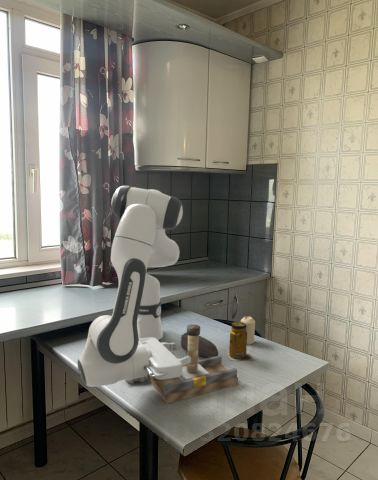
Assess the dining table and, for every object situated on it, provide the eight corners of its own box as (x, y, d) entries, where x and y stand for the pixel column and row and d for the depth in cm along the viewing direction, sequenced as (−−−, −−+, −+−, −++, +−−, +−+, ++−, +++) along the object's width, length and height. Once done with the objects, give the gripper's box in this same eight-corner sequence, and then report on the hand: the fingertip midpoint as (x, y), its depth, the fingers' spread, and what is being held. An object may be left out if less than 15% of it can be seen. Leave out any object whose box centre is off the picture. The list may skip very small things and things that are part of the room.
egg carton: (121, 368, 124) (121, 356, 123) (144, 366, 126) (144, 354, 125) (124, 384, 114) (124, 372, 113) (148, 382, 115) (149, 369, 115)
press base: (166, 403, 104) (166, 388, 104) (150, 382, 115) (150, 369, 114) (238, 384, 115) (238, 370, 115) (217, 366, 126) (218, 354, 125)
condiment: (226, 351, 137) (227, 320, 136) (249, 351, 138) (250, 320, 136) (230, 361, 130) (232, 328, 128) (254, 360, 131) (256, 328, 129)
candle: (237, 342, 146) (238, 317, 144) (243, 337, 150) (244, 313, 149) (250, 346, 143) (251, 320, 141) (256, 341, 147) (257, 316, 146)
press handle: (185, 385, 109) (186, 333, 107) (175, 374, 115) (176, 325, 113) (209, 379, 113) (211, 329, 111) (198, 369, 119) (199, 321, 117)
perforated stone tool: (221, 359, 131) (222, 340, 130) (213, 364, 127) (214, 345, 126) (188, 347, 140) (188, 329, 139) (179, 351, 136) (179, 333, 135)
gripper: (152, 366, 95) (199, 356, 102) (126, 337, 113) (168, 329, 119) (152, 389, 96) (199, 378, 102) (126, 356, 114) (168, 348, 120)
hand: (182, 352), depth 111 cm, fingers open, 8 cm apart
